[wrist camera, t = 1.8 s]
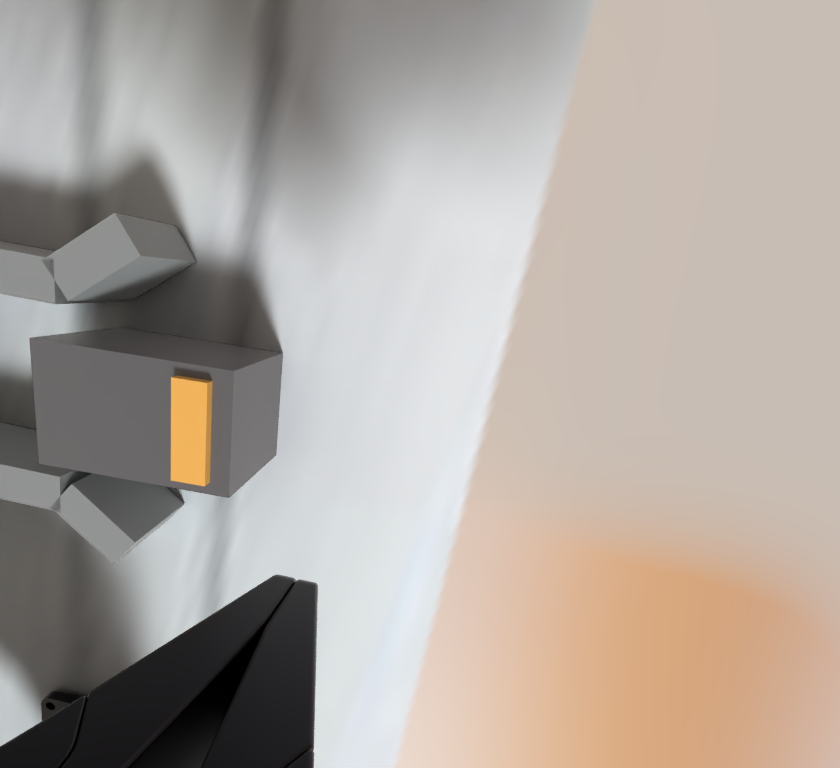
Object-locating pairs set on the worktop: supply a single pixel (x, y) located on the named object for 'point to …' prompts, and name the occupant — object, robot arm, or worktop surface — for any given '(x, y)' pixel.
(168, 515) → the grey blocky piece
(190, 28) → the worktop surface
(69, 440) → the grey rectangular block
